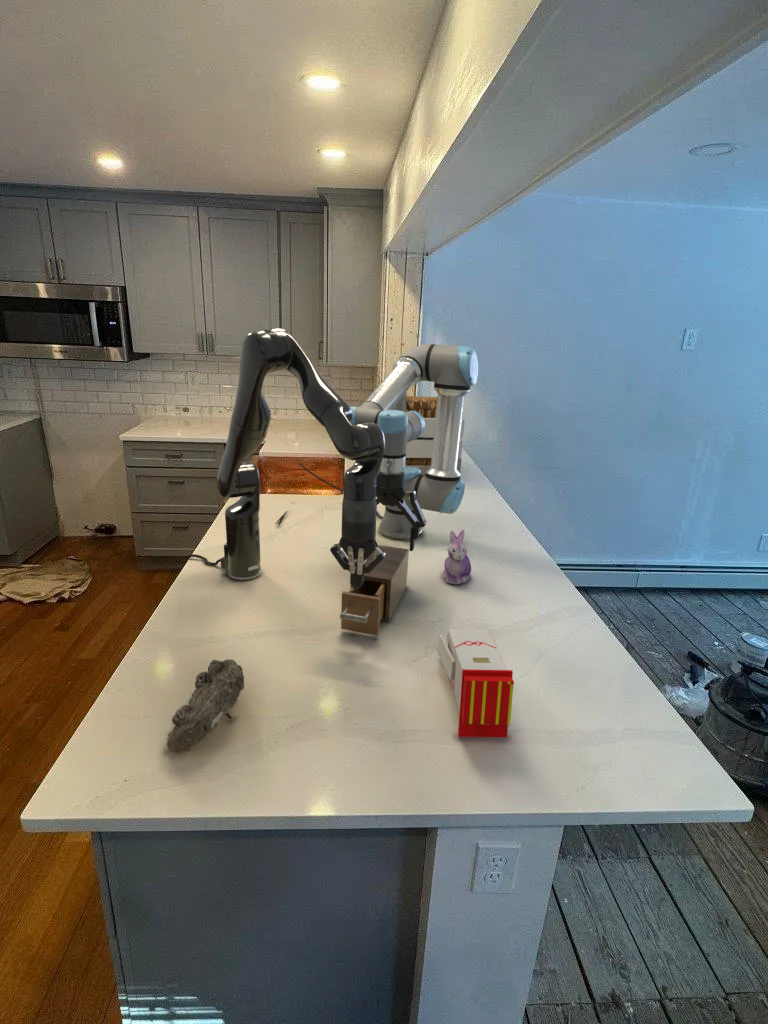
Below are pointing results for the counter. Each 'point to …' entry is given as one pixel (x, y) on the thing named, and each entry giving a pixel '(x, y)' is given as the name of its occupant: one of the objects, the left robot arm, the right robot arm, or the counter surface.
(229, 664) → the fossil
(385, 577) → the cabinet
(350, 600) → the drawer
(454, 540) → the figurine
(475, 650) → the toy
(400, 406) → the white tiered storage organizer
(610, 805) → the counter surface
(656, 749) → the counter surface
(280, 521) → the feather
